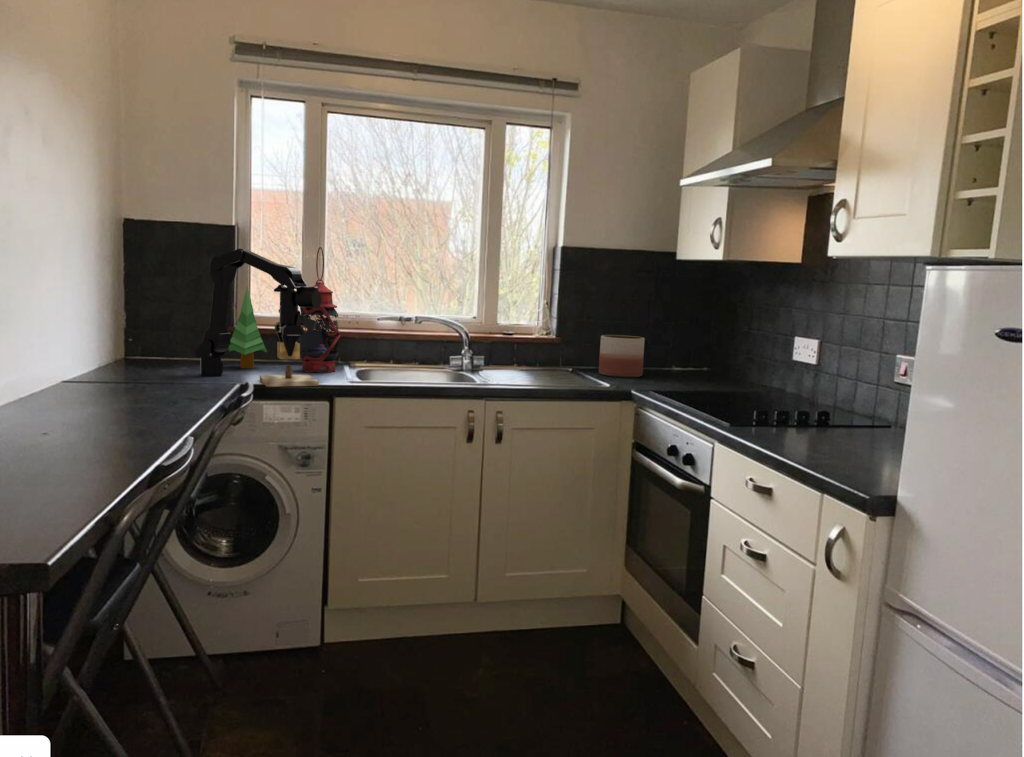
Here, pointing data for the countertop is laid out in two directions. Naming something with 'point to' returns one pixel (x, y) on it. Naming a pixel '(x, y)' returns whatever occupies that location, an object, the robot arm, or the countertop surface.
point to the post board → (288, 379)
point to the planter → (621, 356)
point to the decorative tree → (246, 334)
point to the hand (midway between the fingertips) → (288, 355)
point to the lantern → (320, 332)
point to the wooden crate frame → (283, 353)
